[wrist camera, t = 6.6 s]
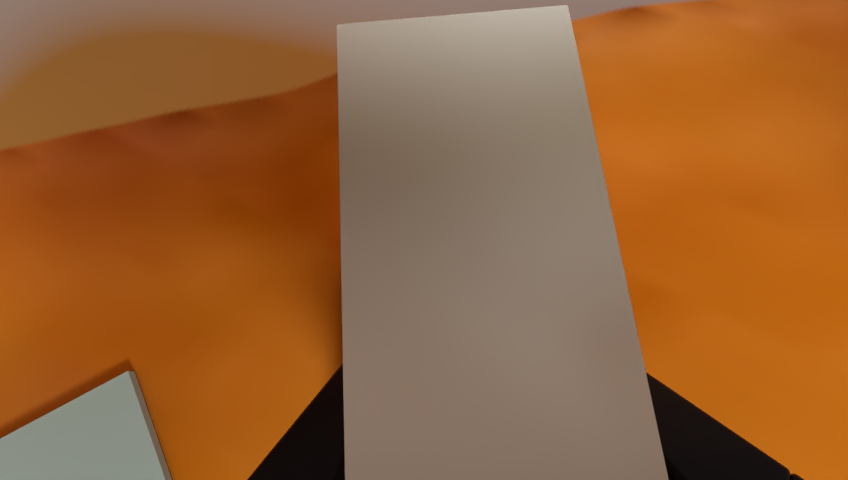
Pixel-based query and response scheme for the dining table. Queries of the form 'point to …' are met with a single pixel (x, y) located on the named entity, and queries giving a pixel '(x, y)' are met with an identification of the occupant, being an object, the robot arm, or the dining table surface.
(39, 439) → the mat
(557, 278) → the beige rectangular block
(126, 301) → the dining table surface
